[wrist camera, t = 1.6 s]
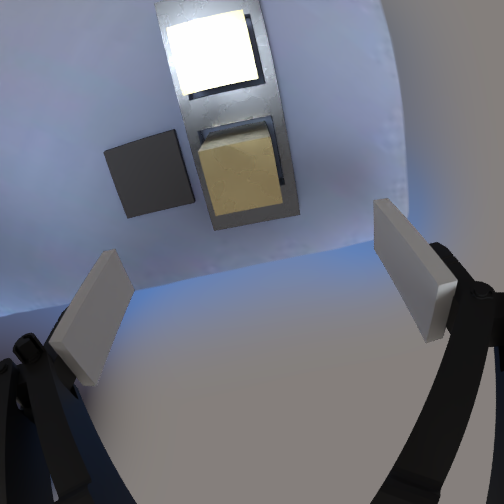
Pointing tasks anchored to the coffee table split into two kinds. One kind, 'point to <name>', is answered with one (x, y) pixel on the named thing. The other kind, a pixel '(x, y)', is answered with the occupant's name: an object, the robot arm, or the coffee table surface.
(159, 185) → the rubber pad
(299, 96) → the coffee table surface
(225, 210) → the tan textured cube
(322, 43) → the coffee table surface
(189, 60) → the block
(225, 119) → the rail
